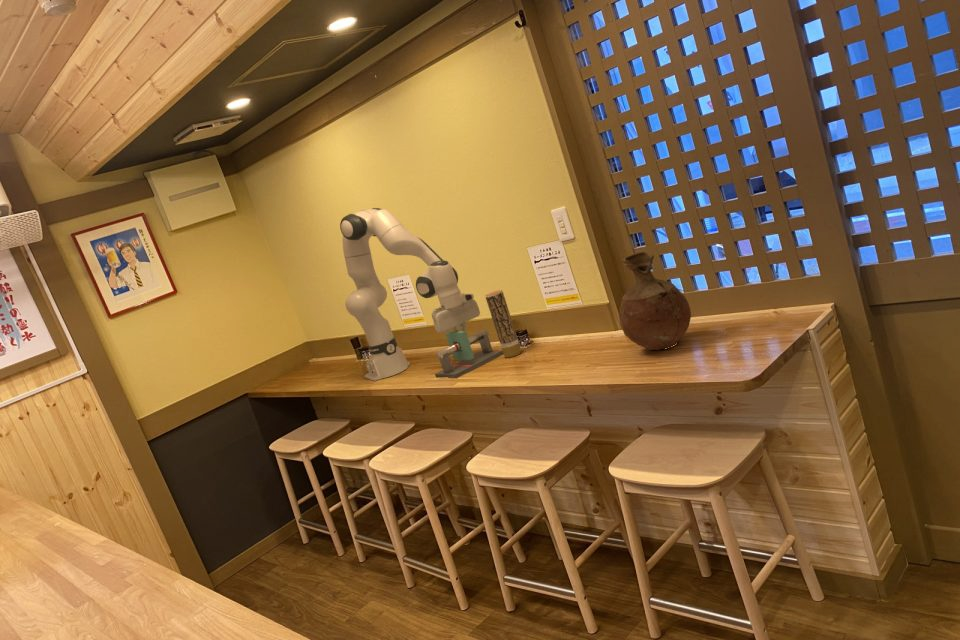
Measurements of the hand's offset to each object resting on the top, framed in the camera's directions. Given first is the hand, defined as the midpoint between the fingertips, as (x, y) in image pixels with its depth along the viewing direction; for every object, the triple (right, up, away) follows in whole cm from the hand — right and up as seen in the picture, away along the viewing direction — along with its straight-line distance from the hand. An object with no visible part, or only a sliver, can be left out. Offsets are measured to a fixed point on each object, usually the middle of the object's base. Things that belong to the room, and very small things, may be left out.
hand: (462, 335), depth 279 cm
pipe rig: (+2, -10, +1) cm, 11 cm away
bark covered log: (+19, -7, -4) cm, 21 cm away
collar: (0, -9, 0) cm, 9 cm away
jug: (+64, -2, -53) cm, 83 cm away
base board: (+3, -12, +1) cm, 12 cm away
